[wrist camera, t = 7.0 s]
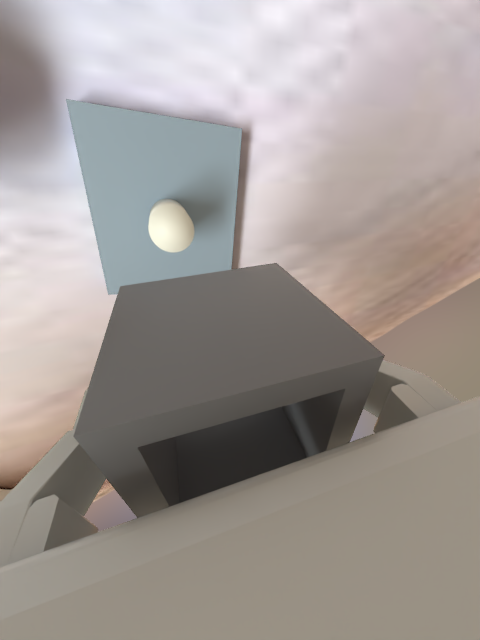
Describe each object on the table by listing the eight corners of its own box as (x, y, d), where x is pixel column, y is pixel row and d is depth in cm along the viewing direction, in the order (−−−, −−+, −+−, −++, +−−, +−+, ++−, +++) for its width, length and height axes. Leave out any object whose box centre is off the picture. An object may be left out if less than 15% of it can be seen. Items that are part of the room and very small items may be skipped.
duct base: (226, 284, 27) (241, 309, 23) (110, 288, 24) (99, 319, 19) (236, 130, 20) (262, 119, 15) (72, 103, 17) (38, 78, 12)
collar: (271, 367, 14) (333, 481, 9) (159, 395, 12) (159, 545, 7) (276, 263, 10) (384, 355, 5) (120, 286, 9) (73, 436, 4)
